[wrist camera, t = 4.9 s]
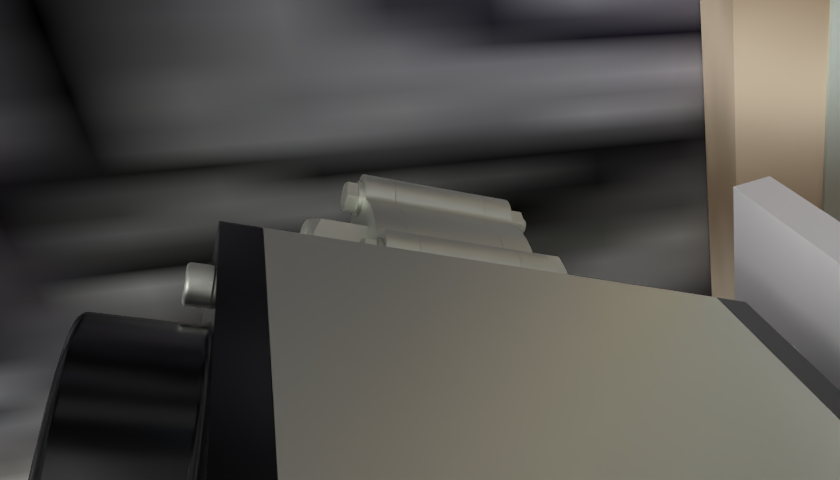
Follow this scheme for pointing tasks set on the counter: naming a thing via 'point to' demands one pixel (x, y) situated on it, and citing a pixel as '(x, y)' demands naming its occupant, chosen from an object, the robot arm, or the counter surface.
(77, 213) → the counter surface
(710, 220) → the pipe stand
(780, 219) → the robot arm
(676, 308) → the pneumatic valve
